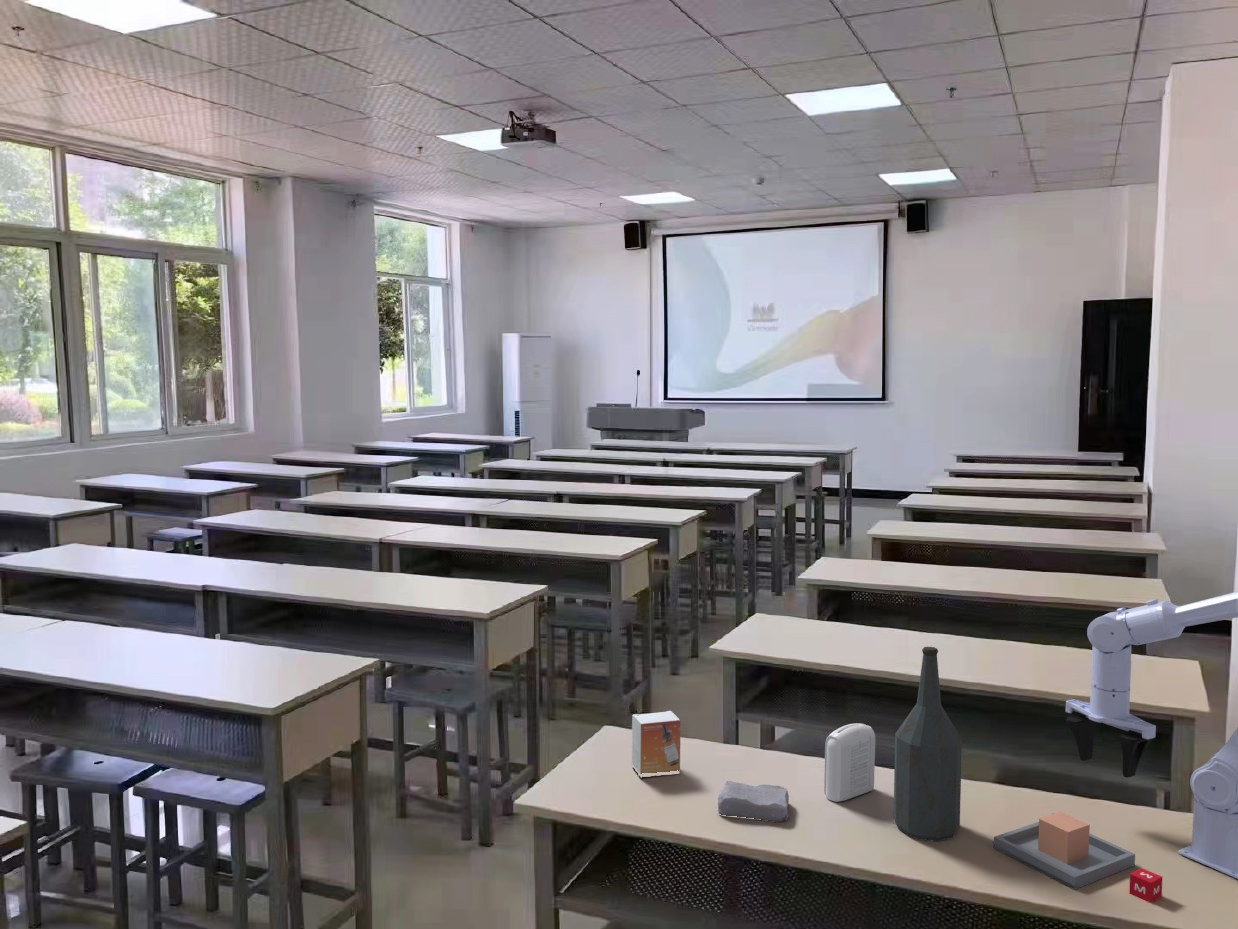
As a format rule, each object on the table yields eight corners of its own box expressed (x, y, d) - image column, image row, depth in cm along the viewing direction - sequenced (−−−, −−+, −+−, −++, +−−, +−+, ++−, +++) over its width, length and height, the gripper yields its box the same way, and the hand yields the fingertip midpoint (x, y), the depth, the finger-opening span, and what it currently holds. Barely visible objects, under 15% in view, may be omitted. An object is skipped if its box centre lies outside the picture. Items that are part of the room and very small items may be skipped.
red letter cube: (1129, 894, 134) (1129, 874, 134) (1140, 888, 136) (1141, 867, 136) (1150, 903, 132) (1151, 883, 132) (1161, 897, 134) (1162, 876, 133)
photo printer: (858, 782, 172) (860, 716, 171) (877, 790, 169) (879, 723, 168) (820, 796, 166) (821, 728, 165) (839, 805, 163) (840, 735, 162)
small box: (639, 779, 174) (639, 724, 173) (631, 768, 179) (631, 713, 178) (681, 774, 176) (681, 719, 175) (671, 763, 181) (671, 709, 180)
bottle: (949, 848, 148) (954, 660, 145) (887, 833, 153) (890, 651, 150) (964, 822, 156) (969, 644, 154) (905, 808, 161) (908, 636, 159)
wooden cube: (1088, 856, 144) (1089, 824, 143) (1066, 864, 142) (1068, 832, 141) (1059, 842, 148) (1060, 811, 148) (1038, 850, 146) (1039, 818, 145)
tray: (1134, 865, 142) (1135, 854, 142) (1074, 889, 135) (1074, 877, 135) (1052, 827, 154) (1053, 817, 154) (993, 848, 148) (993, 836, 148)
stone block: (722, 804, 168) (715, 818, 158) (724, 776, 168) (717, 788, 159) (790, 813, 165) (787, 828, 155) (791, 785, 166) (789, 798, 156)
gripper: (1054, 678, 158) (1052, 757, 160) (1137, 703, 146) (1134, 788, 147) (1082, 672, 162) (1079, 749, 163) (1165, 696, 149) (1161, 779, 150)
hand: (1107, 767), depth 155 cm, fingers open, 7 cm apart
